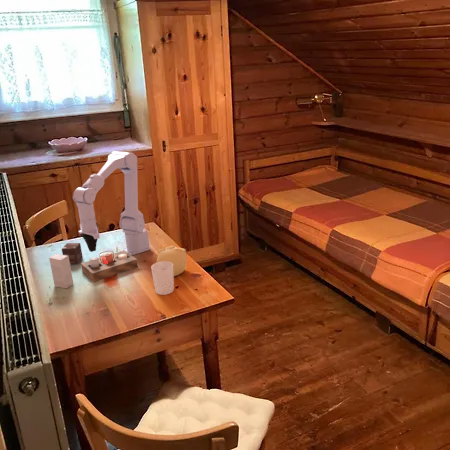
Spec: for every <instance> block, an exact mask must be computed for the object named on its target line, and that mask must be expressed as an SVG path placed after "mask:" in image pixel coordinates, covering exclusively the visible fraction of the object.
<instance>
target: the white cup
mask: <svg viewBox="0 0 450 450" xmlns="http://www.w3.org/2000/svg"><path fill="white" fill-rule="evenodd" d="M150 269H151V274H152V281H153V286H154V289H155V294H158V295H161V296H163V295H165V296H167V295H169V294H170V295H171V294H172V293H173V292H174V291H175V286H174V285H175V276H174V272H173V264H172V263H171V262H167V261H162V262H157V261H156V262H155V263H153V264H152V265H151V266H150Z"/></svg>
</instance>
